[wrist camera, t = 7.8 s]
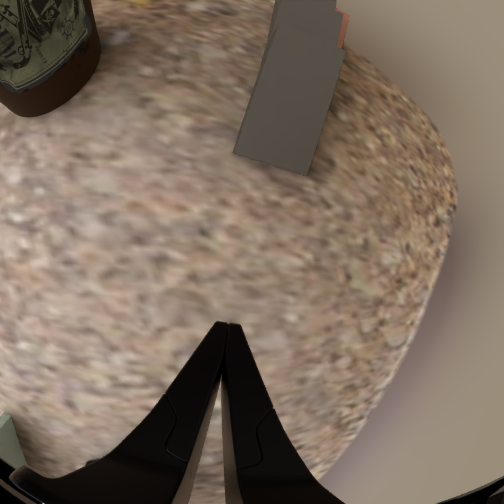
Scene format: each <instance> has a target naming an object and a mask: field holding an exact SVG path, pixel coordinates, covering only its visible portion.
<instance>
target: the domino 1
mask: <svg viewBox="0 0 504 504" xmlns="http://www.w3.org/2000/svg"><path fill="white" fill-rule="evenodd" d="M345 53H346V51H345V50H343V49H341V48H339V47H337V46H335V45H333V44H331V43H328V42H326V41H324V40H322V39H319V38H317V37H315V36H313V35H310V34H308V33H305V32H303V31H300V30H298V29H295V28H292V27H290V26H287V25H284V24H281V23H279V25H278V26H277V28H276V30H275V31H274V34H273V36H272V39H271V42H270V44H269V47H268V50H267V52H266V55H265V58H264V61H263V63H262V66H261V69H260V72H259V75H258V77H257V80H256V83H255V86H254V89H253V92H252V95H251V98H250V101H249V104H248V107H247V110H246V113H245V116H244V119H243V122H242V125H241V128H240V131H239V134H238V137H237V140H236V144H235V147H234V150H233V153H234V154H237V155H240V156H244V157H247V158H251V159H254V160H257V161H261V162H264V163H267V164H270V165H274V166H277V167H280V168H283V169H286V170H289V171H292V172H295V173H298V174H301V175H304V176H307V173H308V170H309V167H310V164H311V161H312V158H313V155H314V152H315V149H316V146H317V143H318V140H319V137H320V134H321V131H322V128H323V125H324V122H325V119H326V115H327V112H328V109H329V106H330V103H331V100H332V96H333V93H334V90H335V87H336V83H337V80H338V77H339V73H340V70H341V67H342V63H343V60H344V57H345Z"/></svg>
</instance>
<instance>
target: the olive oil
mask: <svg viewBox="0 0 504 504" xmlns="http://www.w3.org/2000/svg"><path fill="white" fill-rule="evenodd" d="M100 54H101V45H100V40H99V36H98V32H97V27H96V23H95V19H94V14H93V9H92V4H91V0H0V102H1V103H2V104H3V105H5V106H6V107H7V108H8V109H10V110H11V111H12V112H13V113H15V114H17V115H19V116H22V117H34V116H38V115H41V114H44V113H47V112H49V111H51V110H53V109H55V108H56V107H58V106H60V105H61V104H63V103H64V102H65V101H67V100H68V99H69V98H71V97H72V96H73V95H74V94H75V93H76V92H77V91H78V90H79V89H80V88H81V87H82V86H83V85H84V84H85V83H86V82H87V80H88V79H89V78H90V76H91V75H92V73H93V72H94V70H95V68H96V66H97V64H98V62H99V59H100Z"/></svg>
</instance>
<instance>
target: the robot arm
mask: <svg viewBox="0 0 504 504" xmlns="http://www.w3.org/2000/svg"><path fill="white" fill-rule="evenodd" d="M221 375H222V377H221ZM220 381H221V406H222V438H223V462H224V481H225V498H226V504H345V503H344V502H342V501H341V500H339V499H338V498H337V497H336V496H334V495H333V494H332V493H330V492H329V491H328V490H327V489H325V488H324V487H323V486H322V485H321V484H320V483H319V482H318V481H317V480H316V479H315V478H314V476H313V475H312V474H311V472H310V471H309V470H308V468H307V467H306V465H305V464H304V462H303V460H302V459H301V457H300V456H299V454H298V453H297V451H296V449H295V448H294V446H293V445H292V443H291V441H290V440H289V438H288V436H287V434H286V433H285V431H284V429H283V427H282V424H281V422H280V420H279V418H278V416H277V413H276V411H275V409H274V408H273V404H272V402H271V399H270V397H269V395H268V392H267V390H266V387H265V385H264V382H263V380H262V378H261V375H260V373H259V370H258V368H257V365H256V363H255V360H254V358H253V355H252V352H251V350H250V347H249V345H248V342H247V340H246V337H245V334H244V332H243V329H242V327H241V325H240V324H235V323H229V324H228V323H227V322H221V321H216V322H215V323H214V325H213V326H212V327H211V329H210V330H209V332H208V333H207V334H206V336H205V337H204V339H203V340H202V342H201V343H200V344H199V346H198V347H197V349H196V350H195V351H194V353H193V354H192V356H191V357H190V358H189V360H188V361H187V363H186V364H185V365H184V367H183V368H182V370H181V371H180V372H179V374H178V375H177V377H176V378H175V379H174V381H173V382H172V383H171V385H170V386H169V388H168V389H167V390H166V392H165V394H163V396H162V397H161V398H160V400H159V401H158V403H157V404H156V405H155V406H154V408H153V409H152V410H151V412H150V413H149V414H148V415H147V416H146V417H145V418H144V419H143V421H142V422H141V423H140V424H139V425H138V426H137V427H136V428H135V429H134V430H133V431H132V432H131V433H130V434H129V435H128V436H127V437H126V438H125V439H124V440H123V441H122V442H121V443H120V444H119V445H118V446H117V447H116V448H115V449H113V450H112V451H111V452H110V453H108V454H107V455H106V456H104V457H103V458H101V459H99V460H96V461H89V462H86V465H85V466H84V467H82V468H80V469H78V470H76V471H74V472H71V473H69V474H67V475H65V476H62V477H59V478H56V477H54V476H51V475H49V474H47V473H44V472H42V471H40V470H38V469H35V468H33V467H31V466H29V465H26V464H23V465H21V466H20V467H19V468H15V467H14V466H12V465H11V464H9V463H8V462H7V461H5V460H4V459H3V458H1V457H0V504H188V502H189V499H190V495H191V491H192V488H193V484H194V480H195V476H196V472H197V469H198V465H199V461H200V457H201V454H202V450H203V446H204V442H205V439H206V435H207V431H208V427H209V424H210V420H211V416H212V412H213V408H214V405H215V401H216V397H217V393H218V389H219V386H220ZM437 504H504V476H502V477H500V478H498V479H497V480H494V481H492V482H490V483H488V484H486V485H484V486H481V487H479V488H477V489H474V490H472V491H469V492H467V493H465V494H462V495H459V496H456V497H454V498H451V499H448V500H445V501H442V502H439V503H437Z"/></svg>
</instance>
